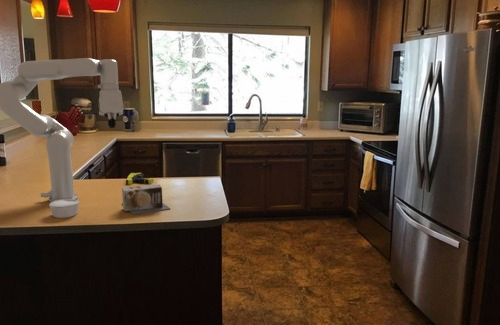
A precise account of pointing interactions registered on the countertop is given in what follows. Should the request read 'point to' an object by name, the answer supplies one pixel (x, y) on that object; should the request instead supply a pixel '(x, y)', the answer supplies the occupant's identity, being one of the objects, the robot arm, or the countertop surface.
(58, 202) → the ramekin
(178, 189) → the countertop surface
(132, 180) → the stun gun
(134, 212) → the mat
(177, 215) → the countertop surface
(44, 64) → the robot arm
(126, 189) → the coffee box
